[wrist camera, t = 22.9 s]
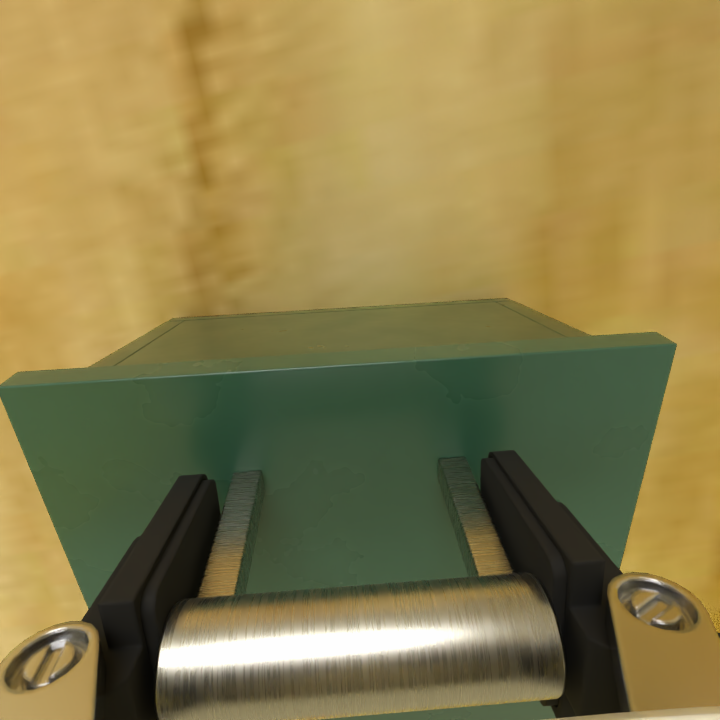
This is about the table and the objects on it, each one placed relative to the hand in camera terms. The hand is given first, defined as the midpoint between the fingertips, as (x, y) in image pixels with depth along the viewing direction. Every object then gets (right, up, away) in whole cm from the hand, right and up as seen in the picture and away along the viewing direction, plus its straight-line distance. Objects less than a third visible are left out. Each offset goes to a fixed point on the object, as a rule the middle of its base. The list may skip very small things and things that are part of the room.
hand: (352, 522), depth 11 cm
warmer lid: (0, -3, +4) cm, 5 cm away
